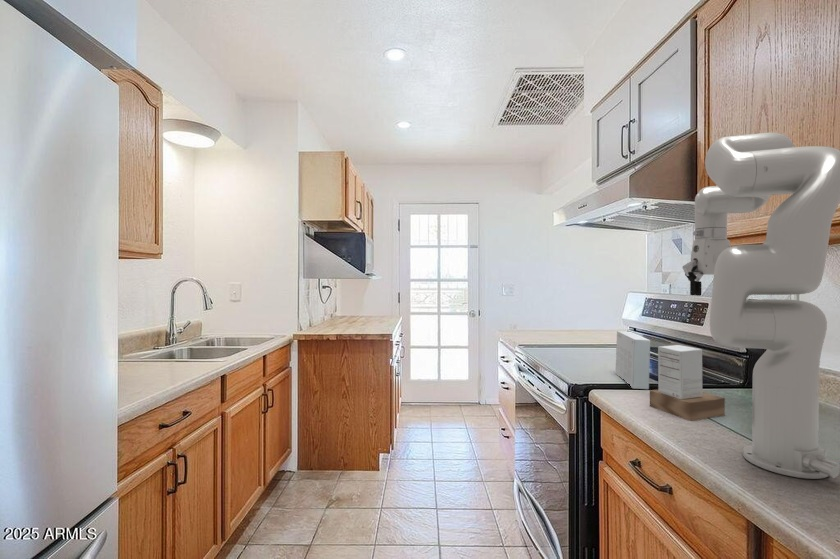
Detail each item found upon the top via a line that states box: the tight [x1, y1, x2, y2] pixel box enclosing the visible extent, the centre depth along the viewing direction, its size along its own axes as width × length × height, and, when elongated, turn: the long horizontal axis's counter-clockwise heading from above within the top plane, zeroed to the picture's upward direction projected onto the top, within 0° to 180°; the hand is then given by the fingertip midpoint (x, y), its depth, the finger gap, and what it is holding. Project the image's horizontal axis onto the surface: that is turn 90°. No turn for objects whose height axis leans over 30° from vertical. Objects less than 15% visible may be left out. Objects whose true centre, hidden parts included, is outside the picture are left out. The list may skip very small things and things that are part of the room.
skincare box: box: [614, 330, 651, 390], centre depth 141 cm, size 21×6×16 cm, turn 168°
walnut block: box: [649, 388, 726, 422], centre depth 110 cm, size 12×12×5 cm
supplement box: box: [657, 344, 703, 399], centre depth 110 cm, size 7×7×13 cm
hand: (710, 295), depth 118 cm, fingers open, 9 cm apart
